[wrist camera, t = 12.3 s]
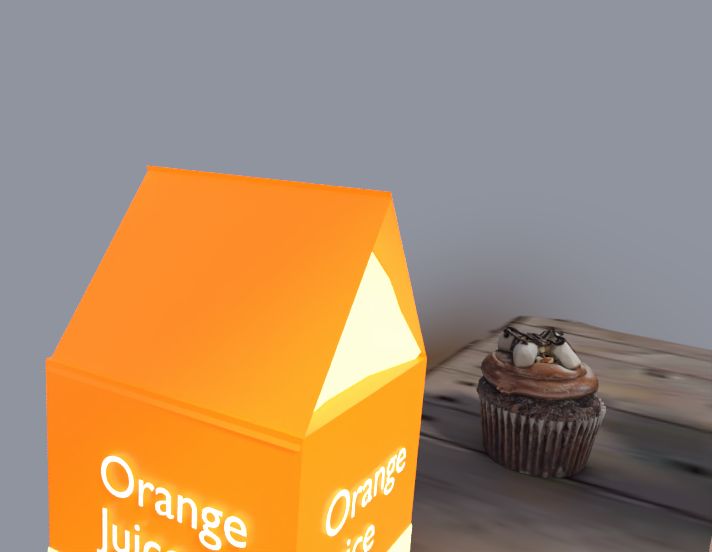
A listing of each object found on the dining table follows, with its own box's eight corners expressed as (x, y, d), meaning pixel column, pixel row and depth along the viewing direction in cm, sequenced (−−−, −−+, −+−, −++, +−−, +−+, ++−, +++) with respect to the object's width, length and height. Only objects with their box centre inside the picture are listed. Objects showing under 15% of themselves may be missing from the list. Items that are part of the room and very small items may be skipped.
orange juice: (271, 947, 18) (316, 198, 14) (49, 783, 22) (34, 164, 18) (394, 731, 25) (447, 188, 21) (207, 637, 29) (222, 165, 25)
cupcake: (508, 489, 47) (525, 354, 45) (453, 430, 56) (465, 316, 54) (623, 479, 50) (644, 351, 48) (553, 425, 59) (568, 315, 57)
